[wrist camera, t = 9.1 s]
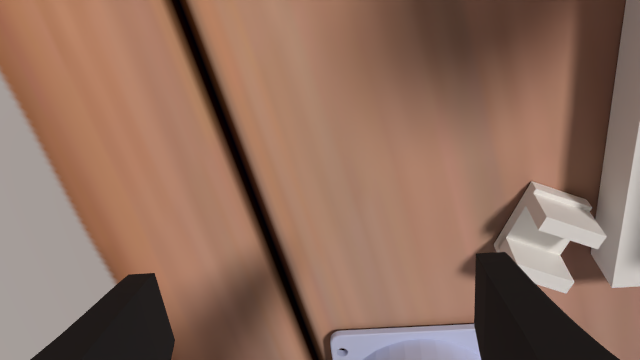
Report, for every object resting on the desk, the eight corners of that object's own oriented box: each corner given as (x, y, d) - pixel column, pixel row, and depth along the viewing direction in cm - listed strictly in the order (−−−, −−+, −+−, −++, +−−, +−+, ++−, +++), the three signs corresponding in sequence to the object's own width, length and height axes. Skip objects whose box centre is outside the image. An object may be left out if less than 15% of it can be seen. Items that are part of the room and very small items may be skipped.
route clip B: (545, 261, 24) (563, 297, 22) (493, 244, 24) (506, 279, 22) (586, 199, 23) (610, 232, 21) (531, 181, 22) (549, 212, 20)
